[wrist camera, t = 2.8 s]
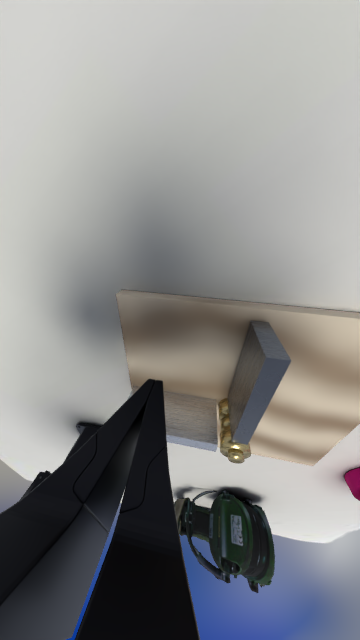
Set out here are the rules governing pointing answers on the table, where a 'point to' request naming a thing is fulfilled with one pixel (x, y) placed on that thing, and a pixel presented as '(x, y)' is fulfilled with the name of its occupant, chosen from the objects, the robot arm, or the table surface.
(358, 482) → the pepper mill
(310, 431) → the board
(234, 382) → the swing leaf
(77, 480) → the robot arm
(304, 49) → the table surface
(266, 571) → the headphones
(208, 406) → the fixed leaf
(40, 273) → the table surface
